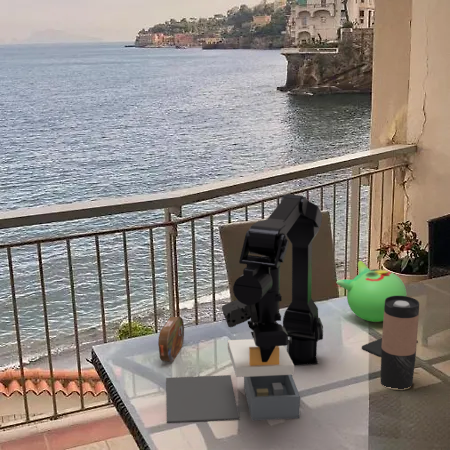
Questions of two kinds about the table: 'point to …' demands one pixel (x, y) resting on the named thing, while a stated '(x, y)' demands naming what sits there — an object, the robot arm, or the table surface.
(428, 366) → the table surface
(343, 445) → the table surface
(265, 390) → the parts tub
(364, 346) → the phone
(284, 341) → the robot arm
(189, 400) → the mat
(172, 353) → the tin
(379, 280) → the toy bird
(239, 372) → the lid
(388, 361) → the travel mug
